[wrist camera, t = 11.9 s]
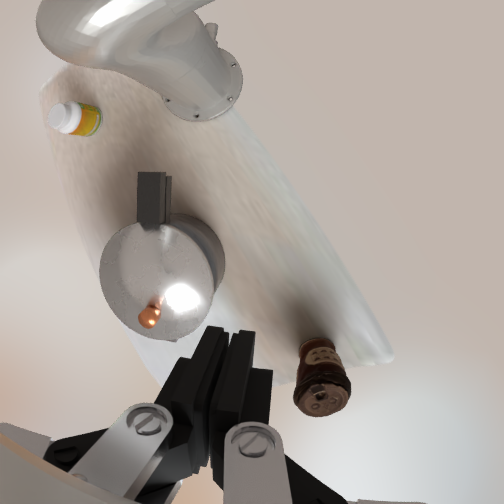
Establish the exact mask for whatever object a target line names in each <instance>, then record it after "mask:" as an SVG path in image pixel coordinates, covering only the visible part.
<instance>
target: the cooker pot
mask: <svg viewBox="0 0 504 504" xmlns="http://www.w3.org/2000/svg"><path fill="white" fill-rule="evenodd" d="M171 179H172V176H166V187H165V222H163V223H166V224H169V225H171V226H174V227H176V228H178V229H179V230H181V231H183V232H184V233H185V234H187V235H188V236H189V237H190V238H191V239H192V240H193V241H194V242H195V243H196V244H197V245H198V246H199V248H200V249H201V250H202V252H203V253H204V255H205V257H206V259H207V261H208V263H209V265H210V268H211V272H212V275H213V281H214V293H215V292H216V290H217V288H218V286H219V285H220V283H221V281H222V278H223V275H224V272H225V255H224V251H223V247H222V245H221V242H220V240H219V239H218V237H217V235H216V234H215V233H214V231H213V230H212V229H211V228H210V227H209V226H208V225H206V224H205V223H204V222H203V221H201V220H199V219H197V218H195V217H193V216H190V215H186V214H170V205H171ZM177 340H178V339H174V340H166V341H171V342H176V341H177Z"/></svg>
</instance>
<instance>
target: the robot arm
mask: <svg viewBox="0 0 504 504" xmlns="http://www.w3.org/2000/svg"><path fill="white" fill-rule="evenodd" d="M212 1H214V0H42V2H41V4H40V6H39V9H38V12H37V16H36V28H37V32H38V35H39V38H40V39H41V41H42V43H43V44H44V46H45V47H46V48H47V49H48V50H49V51H51V52H52V53H53V54H54V55H56V56H57V57H59V58H60V59H62V60H64V61H66V62H69V63H72V64H75V65H78V66H82V67H87V68H94V69H103V70H111V71H115V72H118V73H121V74H124V75H126V76H128V77H130V78H132V79H134V80H135V81H137V82H139V83H141V84H143V85H145V86H146V87H148V88H150V89H152V90H154V91H155V92H157V93H159V94H161V95H162V99H163V101H164V103H165V105H166V106H167V108H168V109H169V110H170V111H171V112H172V113H173V114H174V115H176V116H178V117H180V118H182V119H184V120H188V121H195V122H201V121H208V120H211V119H214V118H216V117H218V116H220V115H222V114H223V113H225V112H226V111H227V110H229V109H230V108H231V107H232V105H233V104H234V103H235V102H236V100H237V99H238V97H239V95H240V92H241V89H242V84H243V75H242V71H241V68H240V66H239V64H238V62H237V61H236V59H235V58H234V57H233V56H232V55H231V54H230V53H228V52H227V51H225V50H223V49H221V48H218V47H217V44H218V42H217V41H215V39H216V35H217V30H218V25H217V24H215V23H207V24H206V25H205V26H204V24H203V22H202V21H201V19H200V18H199V17H198V15H197V14H196V13H195V12H194V10H196V9H198V8H200V7H202V6H204V5H206V4H208V3H210V2H212ZM233 65H235V67H232V66H233ZM230 98H232V100H231V101H230V100H229V99H230ZM169 100H170V101H169ZM197 115H199V117H198V118H197ZM254 344H255V331H246V330H240V331H239V334H237V333H233V335H232V338H231V341H230V344H229V332H224V328H222V327H215V326H207V327H206V329H205V331H204V333H203V335H202V337H201V340H200V342H199V344H198V346H197V348H196V350H195V352H194V354H193V356H192V358H191V359H189V358H184V357H180V358H179V359H178V361H177V362H176V364H175V366H174V368H173V370H172V371H171V373H170V375H169V377H168V379H167V380H166V382H165V384H164V386H163V388H162V390H161V391H160V393H159V395H158V397H157V399H156V400H155V402H154V403H140V404H136V405H133V406H131V407H129V408H128V409H127V410H125V411H124V412H123V413H122V415H121V416H120V417H119V418H118V419H117V420H116V421H115V422H114V423H113V424H112V425H111V427H110V428H107V429H102V430H99V431H94V432H90V433H86V434H82V435H77V436H73V437H68V438H63V439H60V440H57V441H53V440H52V438H51V437H48V436H45V435H41V434H38V433H35V432H32V431H28V430H25V429H23V428H20V427H17V426H14V425H11V424H8V423H0V504H171V503H172V501H173V499H174V497H175V496H176V494H177V492H178V490H179V489H180V487H181V485H182V482H183V479H184V478H187V477H189V476H192V474H193V473H194V474H198V473H199V469H200V466H203V467H206V466H207V463H208V460H209V456H210V461H211V468H213V480H214V481H215V482H216V484H217V485H218V486H219V487H220V488H221V489H222V490H223V491H224V495H223V504H426V503H421V502H388V501H371V500H360V499H358V500H357V502H352V501H346V500H345V499H344V498H343V497H342V496H341V495H339V494H338V493H336V492H335V491H333V490H331V489H330V488H329V487H327V486H326V485H325V484H323V483H322V482H321V481H319V480H318V479H316V478H315V477H314V476H312V475H311V474H310V473H308V472H307V471H306V470H305V469H303V468H302V467H301V466H299V465H298V464H297V463H295V462H294V461H293V460H291V459H290V458H289V457H288V456H287V455H285V454H284V449H283V443H282V439H281V436H280V435H279V433H278V432H277V431H276V430H275V429H274V428H272V427H271V426H269V425H268V424H269V412H270V402H271V390H272V378H273V370H268V369H259V368H252V365H253V355H254Z"/></svg>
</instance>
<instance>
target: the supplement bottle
mask: <svg viewBox="0 0 504 504" xmlns="http://www.w3.org/2000/svg"><path fill="white" fill-rule="evenodd" d="M48 124H49V126H50V127H51V128H55V129H57V130H58V131H59V132H61V133H63V134H71V135H80V136H91V135H94V134H95V133H96V132H97V131H98V130H99V129H100V127H101V124H102V113H101V111H100V110H99V109H98V108H97V107H94V106H90V105H86V104H82V103H79V102H75V101H68V102H66V103H64V104H63V103H57V104H55V105H54V106H53V107H52V108H51V110H50V112H49V114H48Z"/></svg>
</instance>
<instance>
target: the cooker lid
mask: <svg viewBox="0 0 504 504" xmlns="http://www.w3.org/2000/svg"><path fill="white" fill-rule="evenodd" d="M165 187H166V172H138V186H137V222H138V223H135V224H132V225H129V226H127V227H125V228H123V229H121V230H120V231H118V232H117V233H116V234H115V235H114V236H113V237H112V238H111V239H110V240H109V242H108V243H107V245H106V246H105V248H104V251H103V253H102V256H101V261H100V269H99V272H100V282H101V287H102V291H103V294H104V296H105V299H106V301H107V303H108V304H109V306H110V308H111V309H112V311H113V312H114V313H115V315H116V316H117V317H118V318H119V319H120V320H121V321H122V322H123V323H124V324H125V325H126V326H128V327H129V328H130V329H132V330H133V331H135V332H137V333H139V334H141V335H143V336H146V337H148V338H152V339H157V340H174V339H178V338H182V337H184V336H186V335H188V334H190V333H192V332H193V331H194V330H196V329H197V328H198V327H199V326H200V324H201V323H202V322H203V321H204V319H205V317H206V316H207V314H208V312H209V310H210V307H211V305H212V300H213V295H214V281H213V275H212V272H211V268H210V265H209V263H208V261H207V259H206V257H205V255H204V253H203V252H202V250H201V249H200V248H199V246H198V245H197V244H196V243H195V242H194V241H193V240H192V239H191V238H190V237H189V236H188V235H187V234H185V233H184V232H183V231H181V230H179V229H178V228H176V227H174V226H171V225H169V224H166V223H163V222H165Z"/></svg>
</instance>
